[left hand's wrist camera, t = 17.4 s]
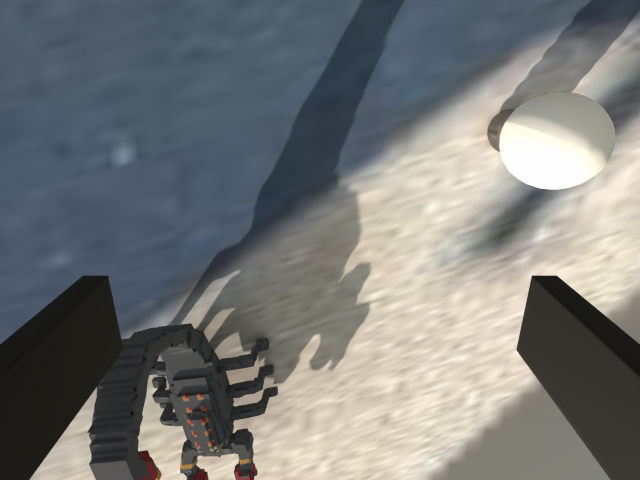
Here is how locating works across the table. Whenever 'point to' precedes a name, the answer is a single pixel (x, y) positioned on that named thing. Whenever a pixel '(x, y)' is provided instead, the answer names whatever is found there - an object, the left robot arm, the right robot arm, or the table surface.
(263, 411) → the toy
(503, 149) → the light bulb
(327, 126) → the table surface
